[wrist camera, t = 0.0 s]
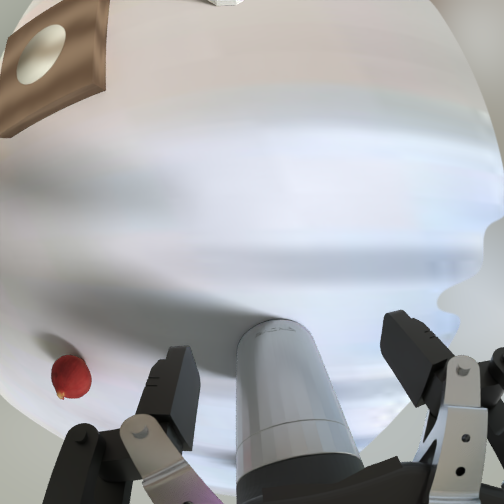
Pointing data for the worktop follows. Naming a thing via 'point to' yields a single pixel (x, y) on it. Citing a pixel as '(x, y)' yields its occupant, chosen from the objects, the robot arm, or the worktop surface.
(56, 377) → the onion
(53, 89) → the walnut plinth
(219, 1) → the pepper shaker
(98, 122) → the worktop surface
